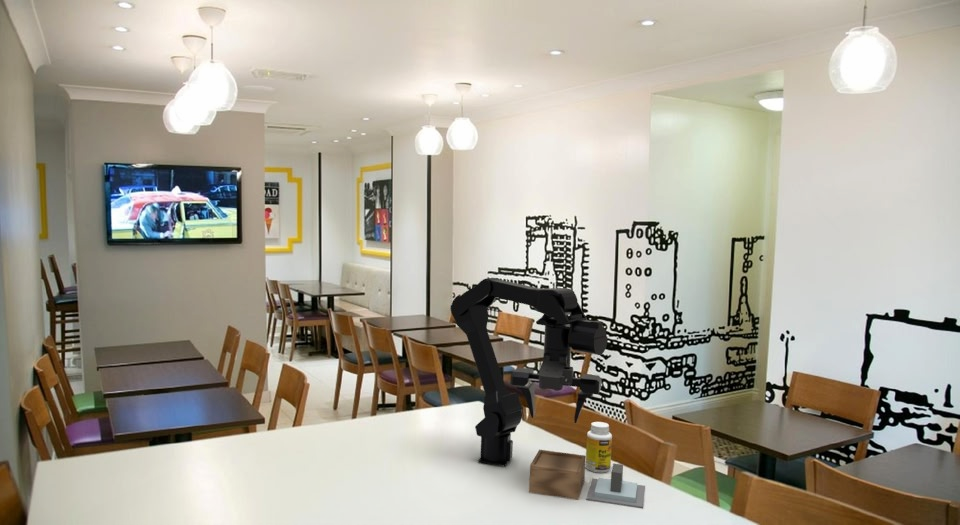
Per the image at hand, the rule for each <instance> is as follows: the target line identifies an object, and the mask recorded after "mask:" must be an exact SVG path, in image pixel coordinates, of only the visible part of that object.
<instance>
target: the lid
mask: <svg viewBox="0 0 960 525" xmlns="http://www.w3.org/2000/svg"><path fill="white" fill-rule="evenodd" d="M623 473H624V464H622V463H621V464H620V463H612V467H611V472H610V478H604V477H597V479H598V481H597V485H596V489H595V493H594V497H599V498H605V499H612V500H619V501H626V502H632V503H635V501H636V493H637V485H638V482H632V481H625V480H623V479H624V478H623V477H624V476H623Z"/></svg>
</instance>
